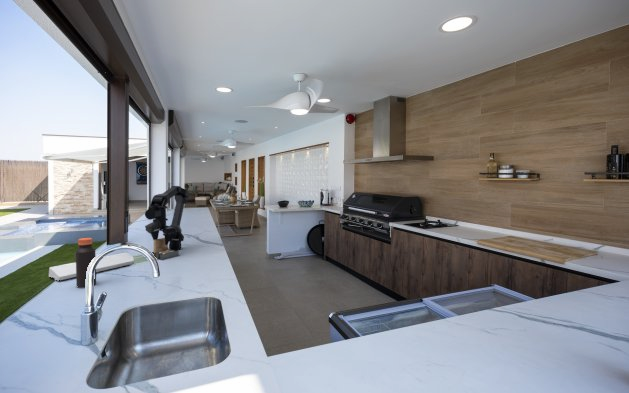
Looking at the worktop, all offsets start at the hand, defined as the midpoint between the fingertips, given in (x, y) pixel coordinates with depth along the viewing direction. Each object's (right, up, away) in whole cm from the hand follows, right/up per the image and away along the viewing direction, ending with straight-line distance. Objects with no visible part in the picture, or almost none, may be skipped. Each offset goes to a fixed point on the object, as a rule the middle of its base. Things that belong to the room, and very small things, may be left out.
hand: (161, 244), depth 183 cm
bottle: (-8, -11, -48) cm, 50 cm away
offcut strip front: (+5, -7, -2) cm, 9 cm away
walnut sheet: (0, -7, 0) cm, 7 cm away
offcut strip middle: (+3, -7, -1) cm, 8 cm away
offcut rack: (+3, -8, -1) cm, 8 cm away
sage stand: (-6, -8, -11) cm, 15 cm away
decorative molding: (-18, -9, -28) cm, 34 cm away
